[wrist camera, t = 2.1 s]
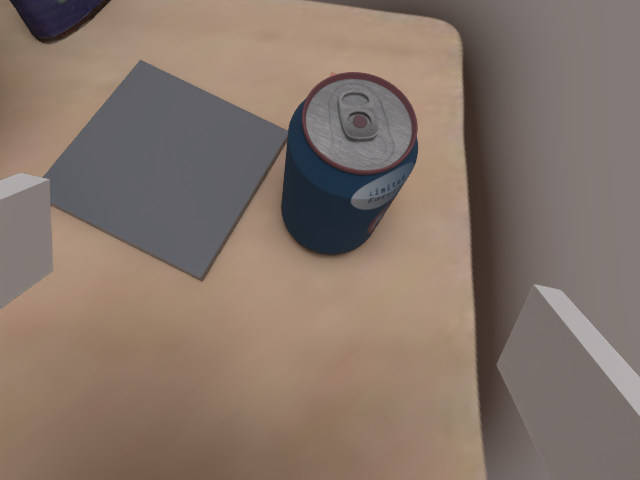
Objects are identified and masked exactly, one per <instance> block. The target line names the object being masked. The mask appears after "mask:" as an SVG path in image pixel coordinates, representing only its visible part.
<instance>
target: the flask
mask: <svg viewBox="0 0 640 480" xmlns="http://www.w3.org/2000/svg"><path fill="white" fill-rule="evenodd" d="M9 1H10V2H11V3H12V4H13V6H14V7H15V8H16V10H17V12H18V13H19V15H20V17H21V18H22V20H23V21H24V23H25V24H26V26H27V28H28V29H29V30H30V32H31V33H32V35H33V36H35V37H36V38H37V39H38V40H39V41H41V42H42V43H46V44H50V43H55V42H58V41H59V40H62V39H64V38H66V37H67V36H69V35H70V34H72V33H73V32H75V31H77V30H78V29H79V28H80V27H83V26H84V25H85V24H87V23H88V21H89V20H90V19H92V18H93V17H94V15H95V14H96V13H97V12H99V11H100V10H101V9H102V8H103V7H104V6H105V5H106V4H107V3H108V2H109V1H110V0H9Z"/></svg>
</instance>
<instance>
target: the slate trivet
mask: <svg viewBox="0 0 640 480" xmlns="http://www.w3.org/2000/svg"><path fill="white" fill-rule="evenodd" d="M287 140H288V131H287V130H285V129H283V128H281V127H279V126H277V125H275V124H273V123H270V122H268V121H266V120H264V119H262V118H260V117H258V116H256V115H254V114H252V113H250V112H248V111H246V110H244V109H241V108H239V107H237V106H235V105H233V104H231V103H229V102H227V101H225V100H223V99H221V98H219V97H217V96H214V95H212V94H210V93H208V92H206V91H204V90H202V89H200V88H198V87H196V86H194V85H192V84H190V83H187V82H185V81H183V80H181V79H179V78H177V77H175V76H173V75H171V74H169V73H167V72H165V71H163V70H160V69H158V68H156V67H154V66H152V65H150V64H148V63H146V62H144V61H142V60H140V61H139V62H138V63H137V65H136V66H135V67H134V68H133V69H132V71H131V72H130V73H129V74H128V75H127V77H126V78H125V79H124V80H123V81H122V83H121V84H120V85H119V86H118V87H117V89H116V90H115V91H114V92H113V93H112V95H111V96H110V97H109V98H108V99H107V101H106V102H105V103H104V104H103V105H102V107H101V108H100V109H99V110H98V111H97V113H96V114H95V115H94V116H93V117H92V119H91V120H90V121H89V122H88V123H87V125H86V126H85V127H84V128H83V130H82V131H81V132H80V133H79V134H78V136H77V137H76V138H75V139H74V140H73V142H72V143H71V144H70V145H69V146H68V148H67V149H66V150H65V151H64V152H63V154H62V155H61V156H60V157H59V158H58V160H57V161H56V162H55V163H54V164H53V166H52V167H51V168H50V169H49V170H48V172H47V173H46V174H45V175H44V176H43V178H46V179H50V203H51V205H52V206H54V207H56V208H58V209H60V210H62V211H64V212H66V213H68V214H70V215H72V216H74V217H76V218H78V219H80V220H82V221H84V222H86V223H88V224H90V225H92V226H94V227H96V228H98V229H100V230H102V231H103V232H105V233H107V234H109V235H111V236H113V237H115V238H117V239H119V240H121V241H123V242H125V243H127V244H129V245H131V246H133V247H135V248H137V249H139V250H141V251H143V252H145V253H147V254H149V255H151V256H153V257H155V258H157V259H159V260H161V261H163V262H165V263H167V264H169V265H171V266H173V267H175V268H177V269H179V270H181V271H183V272H185V273H187V274H189V275H191V276H193V277H195V278H197V279H199V280H201V281H203V279H204V277H205V276H206V274H207V272H208V271H209V269H210V267H211V266H212V264H213V262H214V261H215V259H216V257H217V256H218V254H219V252H220V251H221V249H222V247H223V246H224V244H225V242H226V241H227V239H228V238H229V236H230V234H231V233H232V231H233V229H234V228H235V226H236V224H237V223H238V221H239V219H240V218H241V216H242V214H243V213H244V211H245V209H246V208H247V206H248V204H249V203H250V201H251V199H252V198H253V196H254V194H255V193H256V191H257V189H258V188H259V186H260V185H261V183H262V181H263V180H264V178H265V176H266V175H267V173H268V171H269V170H270V168H271V166H272V165H273V163H274V161H275V160H276V158H277V156H278V155H279V153H280V151H281V150H282V148H283V146H284V145H285V143H286V141H287Z"/></svg>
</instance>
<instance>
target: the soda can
mask: <svg viewBox="0 0 640 480" xmlns="http://www.w3.org/2000/svg"><path fill="white" fill-rule="evenodd" d="M417 129H418V127H417V119H416V115H415V112H414V110H413V107H412V105H411V104H410V102H409V101H408V99H407V98H406V96H405V95H404V94H403V93H402V92H401V91H400V90H399V89H398V88H396V87H395V86H394V85H393V84H391V83H389V82H388V81H386V80H384V79H382V78H380V77H377V76H374V75H371V74H366V73H359V72H348V73H341V74H337V75H334V76H331V77H329V78H327V79H325V80H323V81H322V82H320V83H319V84H318V85H316V86H315V87H314V88H313V89H312V91H311V92H310V93H309V95H308V96H307V98H306V99H305V100H304V101H303V102H302V103H301V104H300V105H299V106H298V108H297V109H296V111H295V112H294V114H293V116H292V119H291V121H290V125H289V129H288V140H287V151H286V161H285V172H284V183H283V193H282V204H281V209H282V216H283V220H284V223H285V225H286V227H287V229H288V230H289V232H290V233H291V235H292V236H293V237H294V238H295V239H296V240H297V241H298V242H299V243H301V244H302V245H303V246H305V247H307V248H309V249H311V250H313V251H316V252H319V253H324V254H341V253H345V252H349V251H351V250H354V249H356V248H357V247H359V246H360V245H362V244H363V243H364V242H365V241H366V240H367V239H368V238H369V237H370V235H371V234H372V232H373V231H374V229H375V228H376V226H377V225H378V223H379V222H380V220H381V219H382V217H383V215H384V214H385V212H386V211H387V209H388V208H389V206H390V205H391V203H392V201H393V200H394V198H395V197H396V195H397V194H398V192H399V191H400V189H401V188H402V186H403V184H404V183H405V181H406V180H407V178H408V177H409V175H410V173H411V172H412V170H413V168H414V166H415V163H416V159H417V154H418V141H417Z"/></svg>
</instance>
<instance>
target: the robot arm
mask: <svg viewBox="0 0 640 480" xmlns="http://www.w3.org/2000/svg"><path fill="white" fill-rule="evenodd" d="M52 271H53V257H52V230H51V203H50V179H46V178H42V177H37V176H32V175H28V174H23V173H19V174H16V175H13V176H11V177H8V178H5V179H2V180H0V309H2V308H3V307H4V306H6V305H7V304H8V303H10V302H11V301H12V300H14V299H15V298H17V297H18V296H19V295H21V294H22V293H23V292H25V291H26V290H28V289H29V288H30V287H32V286H33V285H34V284H36V283H37V282H39V281H40V280H41V279H43V278H44V277H45V276H47V275H48V274H49V273H51V272H52ZM497 367H498V369H499V371H500V373H501V375H502V377H503V379H504V381H505V383H506V385H507V387H508V390H509V391H510V394H511V396H512V398H513V400H514V402H515V405H516V407H517V409H518V411H519V413H520V415H521V417H522V419H523V421H524V423H525V426H526V428H527V429H528V432H529V434H530V436H531V438H532V440H533V442H534V444H535V447H536V449H537V451H538V453H539V455H540V457H541V459H542V461H543V463H544V465H545V467H546V470H547V472H548V474H549V476H550V478H551V480H640V377H639V376H638V375H637V374H636V373H635V372H634V371H633V370H632V368H631V367H630V366H629V365H628V364H627V363H626V362H625V361H624V360H623V358H622V357H621V356H620V355H619V354H618V353H617V352H616V351H615V350H614V348H613V347H612V346H611V345H610V344H609V343H608V342H607V341H606V340H605V338H604V337H603V336H602V335H601V334H600V333H599V332H598V331H597V330H596V328H595V327H594V326H593V325H592V324H591V323H590V322H589V321H588V320H587V318H586V317H585V316H584V315H583V314H582V313H581V312H580V311H579V310H578V308H577V307H576V306H575V305H574V304H573V303H572V302H571V301H570V300H569V298H568V297H567V296H566V295H565V294H564V293H563V292H562V291H561V290H558V289H553V288H549V287H544V286H540V285H535V284H534V285H533V287H532V289H531V291H530V293H529V296H528V298H527V300H526V302H525V304H524V306H523V308H522V311H521V313H520V315H519V317H518V319H517V322H516V324H515V326H514V328H513V330H512V332H511V335H510V337H509V339H508V341H507V343H506V346H505V348H504V350H503V352H502V354H501V356H500V359H499V361H498V363H497Z"/></svg>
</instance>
